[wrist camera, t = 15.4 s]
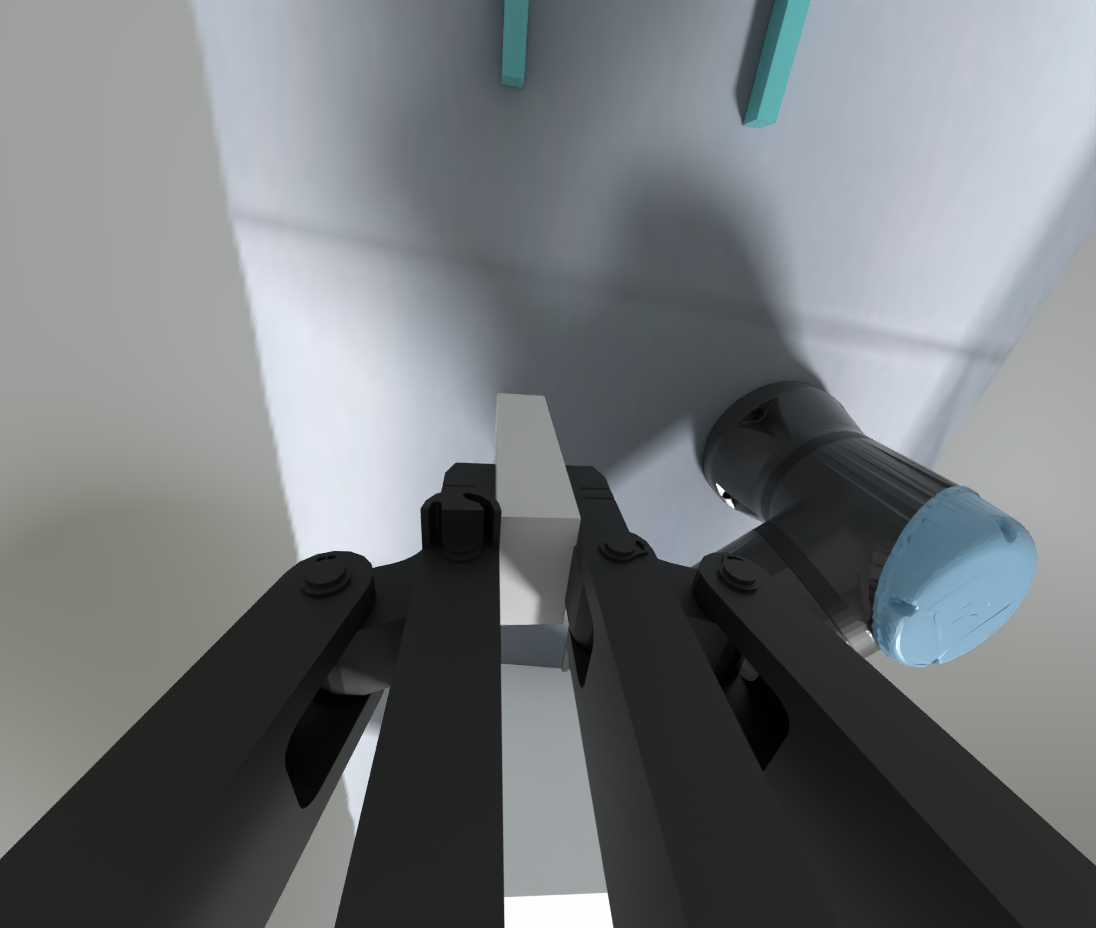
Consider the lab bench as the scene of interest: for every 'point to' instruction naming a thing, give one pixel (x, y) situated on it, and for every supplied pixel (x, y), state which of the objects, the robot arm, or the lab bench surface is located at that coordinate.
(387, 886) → the robot arm
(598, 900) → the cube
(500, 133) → the lab bench surface
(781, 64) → the teal bay
